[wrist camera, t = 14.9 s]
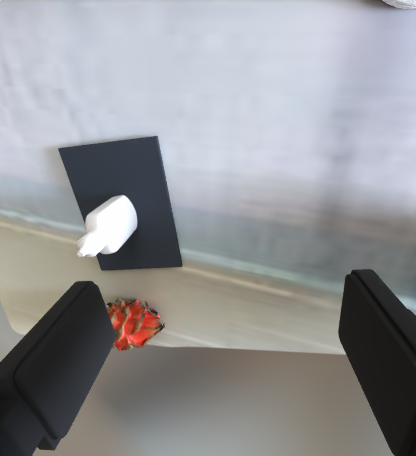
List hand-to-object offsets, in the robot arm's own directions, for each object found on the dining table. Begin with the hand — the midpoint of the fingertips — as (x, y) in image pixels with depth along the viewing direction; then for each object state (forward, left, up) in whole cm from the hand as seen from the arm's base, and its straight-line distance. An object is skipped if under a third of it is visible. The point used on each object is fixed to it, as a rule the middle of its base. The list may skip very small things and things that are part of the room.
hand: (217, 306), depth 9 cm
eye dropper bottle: (+5, -16, -26) cm, 31 cm away
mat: (+5, -16, -26) cm, 31 cm away
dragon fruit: (+24, -19, -26) cm, 40 cm away
